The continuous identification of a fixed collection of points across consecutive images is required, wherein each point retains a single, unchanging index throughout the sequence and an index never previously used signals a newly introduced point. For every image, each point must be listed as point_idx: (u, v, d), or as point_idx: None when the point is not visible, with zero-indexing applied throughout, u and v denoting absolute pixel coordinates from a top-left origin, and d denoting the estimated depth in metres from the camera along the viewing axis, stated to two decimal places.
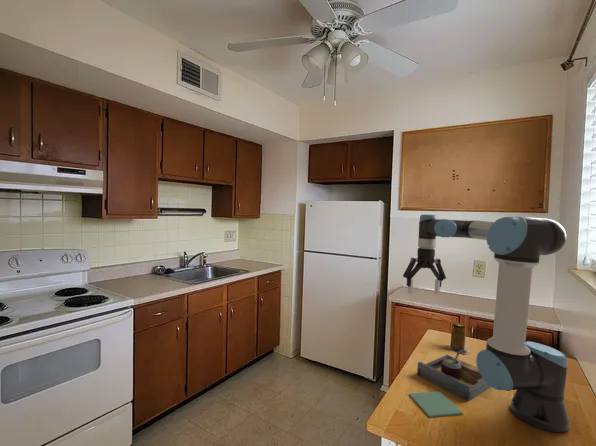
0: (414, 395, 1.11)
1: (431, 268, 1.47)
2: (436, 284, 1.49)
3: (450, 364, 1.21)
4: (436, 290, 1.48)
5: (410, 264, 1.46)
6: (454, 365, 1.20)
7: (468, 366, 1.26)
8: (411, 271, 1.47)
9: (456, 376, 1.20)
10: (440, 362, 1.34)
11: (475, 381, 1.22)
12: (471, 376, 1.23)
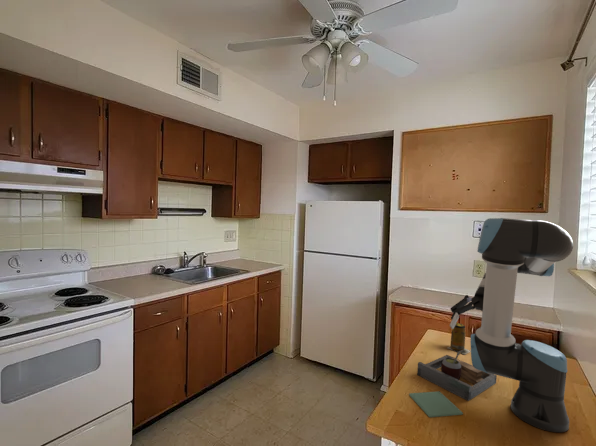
0: (414, 395, 1.11)
1: None
2: None
3: (450, 364, 1.21)
4: None
5: None
6: (454, 365, 1.20)
7: (468, 366, 1.26)
8: None
9: (456, 376, 1.20)
10: (440, 362, 1.34)
11: (474, 381, 1.22)
12: (470, 376, 1.23)
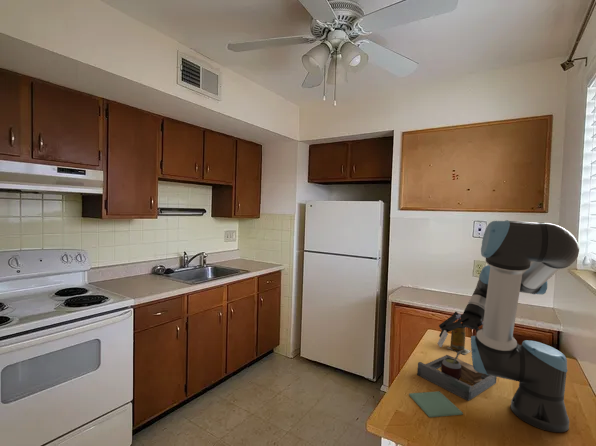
0: (414, 395, 1.11)
1: (475, 329, 1.26)
2: None
3: (450, 364, 1.21)
4: None
5: None
6: (454, 365, 1.20)
7: (468, 366, 1.26)
8: None
9: (456, 376, 1.20)
10: (440, 362, 1.34)
11: (473, 381, 1.22)
12: (469, 376, 1.23)
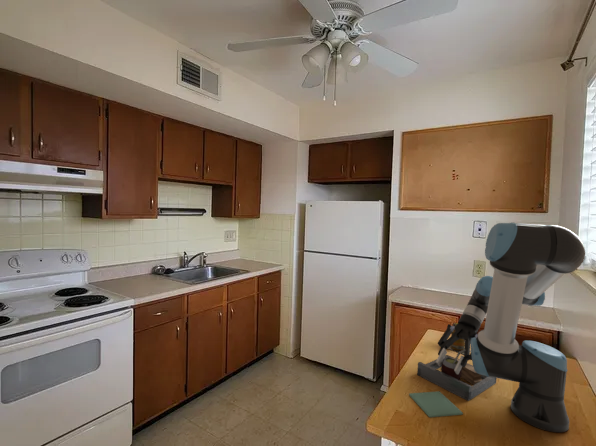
0: (414, 395, 1.11)
1: None
2: None
3: (450, 364, 1.20)
4: None
5: None
6: (454, 365, 1.20)
7: (467, 366, 1.26)
8: None
9: (456, 376, 1.20)
10: None
11: (472, 381, 1.22)
12: (468, 376, 1.23)
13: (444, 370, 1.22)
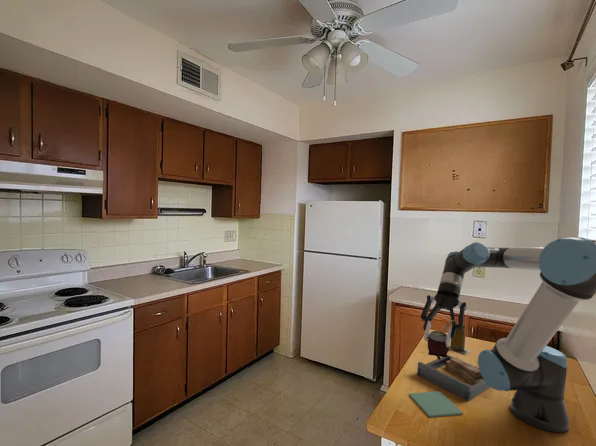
0: (414, 395, 1.11)
1: (449, 309, 1.15)
2: None
3: (439, 337, 1.10)
4: None
5: None
6: (444, 338, 1.10)
7: (468, 366, 1.26)
8: None
9: (446, 349, 1.10)
10: (440, 362, 1.34)
11: (473, 381, 1.22)
12: (469, 376, 1.23)
13: (433, 345, 1.10)
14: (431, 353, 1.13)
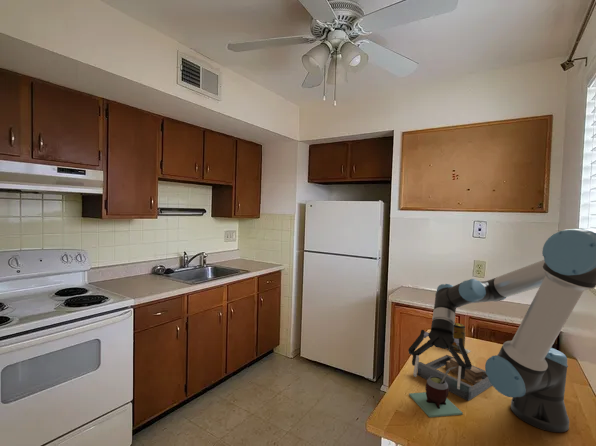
0: (414, 395, 1.11)
1: (449, 348, 1.10)
2: None
3: (439, 385, 1.04)
4: (457, 382, 1.03)
5: None
6: (443, 385, 1.04)
7: None
8: None
9: (445, 397, 1.04)
10: (440, 362, 1.34)
11: (473, 381, 1.22)
12: (469, 376, 1.23)
13: (432, 393, 1.05)
14: (429, 400, 1.07)
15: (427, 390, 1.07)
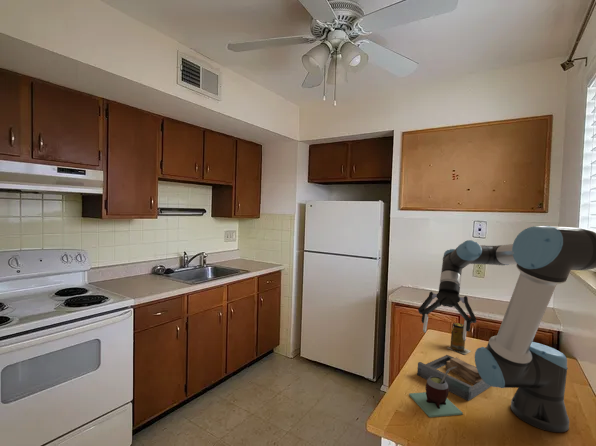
0: (414, 395, 1.11)
1: (455, 306, 1.22)
2: None
3: (439, 385, 1.04)
4: (463, 334, 1.15)
5: None
6: (443, 385, 1.04)
7: (468, 366, 1.26)
8: None
9: (445, 397, 1.04)
10: (440, 362, 1.34)
11: (474, 381, 1.22)
12: (470, 376, 1.23)
13: (432, 393, 1.05)
14: (429, 400, 1.07)
15: (427, 390, 1.07)
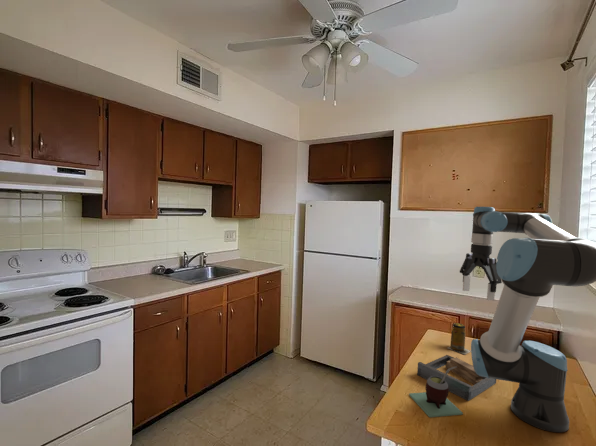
0: (414, 395, 1.11)
1: None
2: None
3: (439, 385, 1.04)
4: None
5: None
6: (443, 385, 1.04)
7: (469, 366, 1.26)
8: None
9: (445, 397, 1.04)
10: (440, 362, 1.34)
11: (474, 381, 1.22)
12: (470, 376, 1.23)
13: (432, 393, 1.05)
14: (429, 400, 1.07)
15: (427, 390, 1.07)
